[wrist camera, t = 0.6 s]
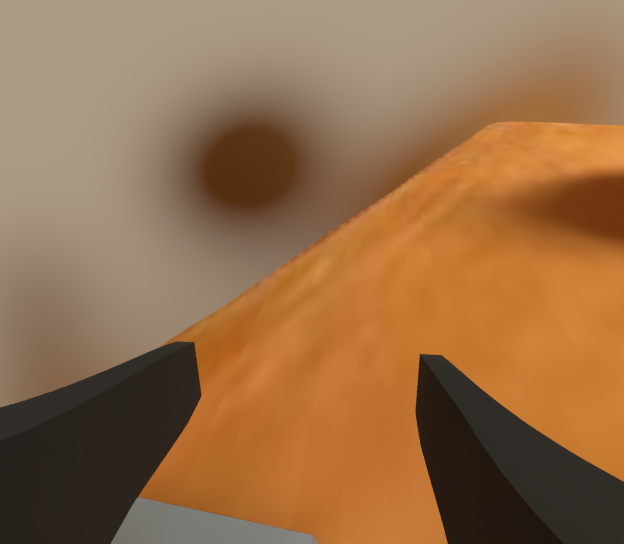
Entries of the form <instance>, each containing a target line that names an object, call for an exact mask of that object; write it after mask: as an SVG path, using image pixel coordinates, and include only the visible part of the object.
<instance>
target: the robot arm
mask: <svg viewBox="0 0 624 544" xmlns="http://www.w3.org/2000/svg"><path fill="white" fill-rule="evenodd" d="M200 398H201V389H200V382H199V374H198V367H197V359H196V352H195V345H194V342H174V343H170V344H168V345H165V346H162V347H160V348H157V349H155V350H152V351H150V352H148V353H145V354H143V355H141V356H139V357H136V358H134V359H132V360H129V361H127V362H125V363H122V364H120V365H118V366H115V367H113V368H111V369H108V370H106V371H103V372H101V373H99V374H96V375H94V376H91V377H89V378H86V379H84V380H81V381H79V382H76V383H74V384H71V385H68V386H66V387H63V388H60V389H58V390H55V391H52V392H49V393H46V394H43V395H40V396H37V397H34V398H31V399H28V400H25V401H22V402H19V403H15V404H11V405H8V406H4V407H1V408H0V544H111V542H112V540H113V539H114V537H115V535H116V533H117V531H118V530H119V528H120V526H121V524H122V523H123V521H124V519H125V517H126V516H127V514H128V512H129V510H130V508H131V507H132V505H133V504H134V502H135V501H136V499H137V497H138V496H139V494H140V493H141V491H142V490H143V488H144V487H145V485H146V484H147V482H148V481H149V479H150V478H151V476H152V475H153V474H154V472H155V471H156V469H157V468H158V466H159V465H160V463H161V462H162V461H163V459H164V458H165V456H166V455H167V453H168V452H169V450H170V449H171V447H172V446H173V444H174V443H175V442H176V440H177V439H178V437H179V436H180V434H181V433H182V431H183V430H184V428H185V427H186V425H187V423H188V422H189V420H190V418H191V416H192V414H193V412H194V410H195V408H196V406H197V404H198V402H199V400H200ZM416 419H417V426H418V432H419V438H420V444H421V448H422V452H423V455H424V459H425V463H426V466H427V470H428V473H429V477H430V480H431V484H432V487H433V491H434V494H435V498H436V501H437V505H438V508H439V512H440V516H441V519H442V523H443V526H444V530H445V534H446V538H447V542H448V544H624V482H623V481H621V480H619V479H618V478H616V477H614V476H612V475H610V474H609V473H607V472H605V471H603V470H601V469H600V468H598V467H596V466H594V465H592V464H591V463H589V462H587V461H585V460H584V459H582V458H580V457H579V456H577V455H575V454H573V453H572V452H570V451H568V450H567V449H565V448H564V447H562V446H560V445H559V444H557V443H556V442H554V441H553V440H551V439H550V438H548V437H546V436H545V435H543V434H542V433H540V432H539V431H537V430H536V429H534V428H533V427H531V426H530V425H528V424H527V423H525V422H524V421H522V420H521V419H520V418H518V417H517V416H516V415H514V414H513V413H512V412H510V411H509V410H507V409H506V408H505V407H503V406H502V405H501V404H499V403H498V402H497V401H496V400H494V399H493V398H492V397H491V396H489V395H488V394H487V393H486V392H484V391H483V390H482V389H481V388H479V387H478V386H477V385H476V384H475V383H473V382H472V381H471V380H470V379H469V378H468V377H466V376H465V375H464V374H463V373H462V372H461V371H460V370H458V369H457V368H456V367H455V366H454V365H453V364H451V363H450V362H449V361H448V360H447V359H446V358H444V357H443V356H442V355H426V354H420V361H419V374H418V386H417V399H416Z"/></svg>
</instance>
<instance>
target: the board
mask: <svg viewBox="0 0 624 544" xmlns="http://www.w3.org/2000/svg"><path fill="white" fill-rule="evenodd" d="M111 544H318V541H317V539H316V538H315V537H314V536H313V535H309V534H305V533H300V532H296V531H291V530H287V529H282V528H277V527H273V526H268V525H264V524H259V523H254V522H250V521H245V520H241V519H236V518H232V517H227V516H222V515H218V514H213V513H209V512H204V511H200V510H195V509H190V508H186V507H181V506H177V505H172V504H167V503H163V502H158V501H154V500H149V499H145V498H140V497H137V499H136V501H135V502H134V504H133V505H132V507H131V508H130V510H129V512H128V514H127V516H126V517H125V519H124V521H123V523H122V524H121V526H120V528H119V530H118V531H117V533H116V535H115V537H114V539H113V540H112V542H111Z"/></svg>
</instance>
